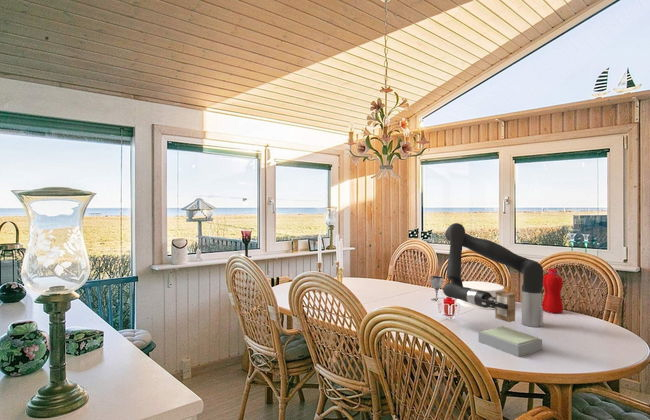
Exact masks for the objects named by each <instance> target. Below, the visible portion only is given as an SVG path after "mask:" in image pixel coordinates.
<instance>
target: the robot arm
mask: <svg viewBox="0 0 650 420" xmlns="http://www.w3.org/2000/svg"><path fill="white" fill-rule="evenodd" d="M444 233H445V234H444V236H445V238H446V240H447V241H448V242H449V253H448V258H447V265H446V278H447V279H448V280H450V283H446V284H444V285H443V287H442V292H443V294H444V295H445V296H446V297H447V298H453V299H455V300H456V299H460V300H463V301H465V302H469V303H471V304H474V305H477V306H480V307H484V308H487V307H491V308H495V307H496V308H502V309H508V305H507V304H504V303H499V302H497V301H496V297H492V295H491V294H490V293H489V292H486V291H482V290H478V289H471V288H467V287H463V284H462V282H463V280H462V255H463V253H462V252H463V248H466V249H468V250H469V251H472V252H474V253H476V254H478V255H480V256H482V257H484V258H486V259H488V260H490V261H492V262H495V263H498V264H501V265H505V266H508V267H509V268H512V269H514V270H516V271H517V272H519V273H520V274H522V275H523V277H522V278H523V281H522V284H521V324H522V325H523V326H527V327H531V328H532V327H533V328H534V327H535V328H539V327H543V326H544V325H543V324H544V321H543V319H544V310H543V308H542V303H543V299H542V297H543V295H542V293H543V289H544V286H543V277H544V268H543V266H542V264H541V263H539V262H538V261H535V260H533V259H530V258H526V257H523V256H521V255H519V254H516V253H514V252H512V251H511V250H510V249H508V248H506V247H504V246H503V245H501V244H498V243H496V242H494V241H493V240H489V239H485V238H480V237H475V236H472V235H470V234H467V233H466V229H465V227H464V225H462V224H461V223H458V222H454V223H452V224H450V225H449V226H448V228H447V229H446V230H445V231H444Z"/></svg>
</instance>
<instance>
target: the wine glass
mask: <svg viewBox="0 0 650 420" xmlns="http://www.w3.org/2000/svg"><path fill="white" fill-rule="evenodd" d="M429 280H430V284H431V286H432V288H433V289H434V291H435V297H434V298H431V299H430V300H431V301H433V302H438V301H437V300H438V299H439V297H438V294H439V293H438V292H439V290H440V289H441V288H442V286H443V283H444V277H443V276H441V275H431V276H430V279H429Z"/></svg>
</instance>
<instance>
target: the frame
mask: <svg viewBox="0 0 650 420" xmlns="http://www.w3.org/2000/svg"><path fill="white" fill-rule="evenodd" d="M496 301H497V302H499V303H504V304H507V305H508V309H502V308H496V307H495V309H494V310H495V314H494V315H495V316H494V317H495V319H498V320H501V321H504V322H507V323H512V322H515V321H516V293H512V292H508V291H504V290H503V291H497V292H496Z"/></svg>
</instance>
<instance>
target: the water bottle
mask: <svg viewBox="0 0 650 420" xmlns="http://www.w3.org/2000/svg"><path fill="white" fill-rule="evenodd" d="M547 270H548V271H547V272H548V273H546V274H545V275H543V290H544V296H543V299H542V308H543V312H547V313H549V314H561V313H563V311H564V305H563V300H562V296H561V294H562V289H563V284H564V282H563V278H562V277H561V276H560V275H559V274H558V269H557V268H553V267H552V268H548V269H547Z"/></svg>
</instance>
